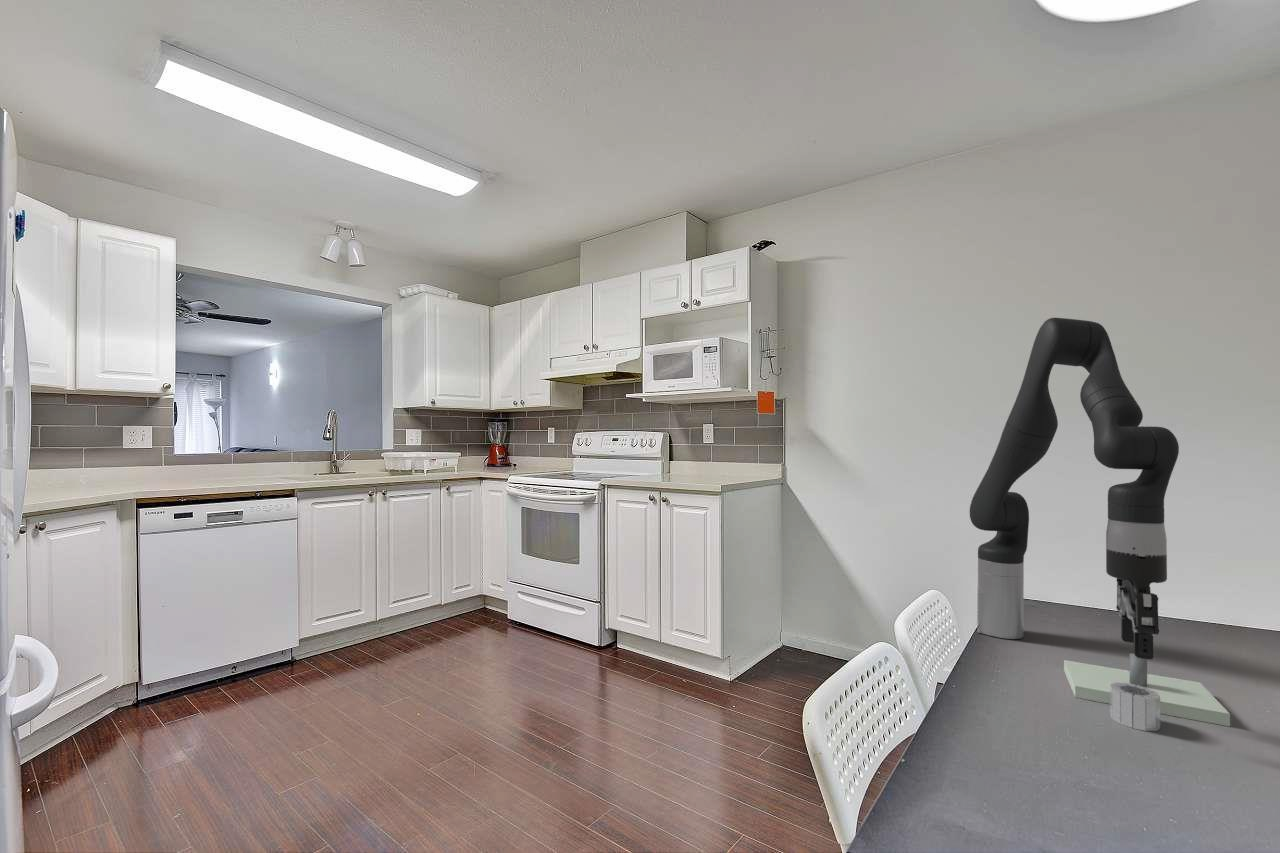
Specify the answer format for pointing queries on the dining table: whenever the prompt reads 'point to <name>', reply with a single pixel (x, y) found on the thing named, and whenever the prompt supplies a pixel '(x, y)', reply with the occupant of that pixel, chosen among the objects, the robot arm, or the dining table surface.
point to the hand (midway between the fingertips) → (1136, 649)
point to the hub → (1135, 706)
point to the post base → (1173, 692)
